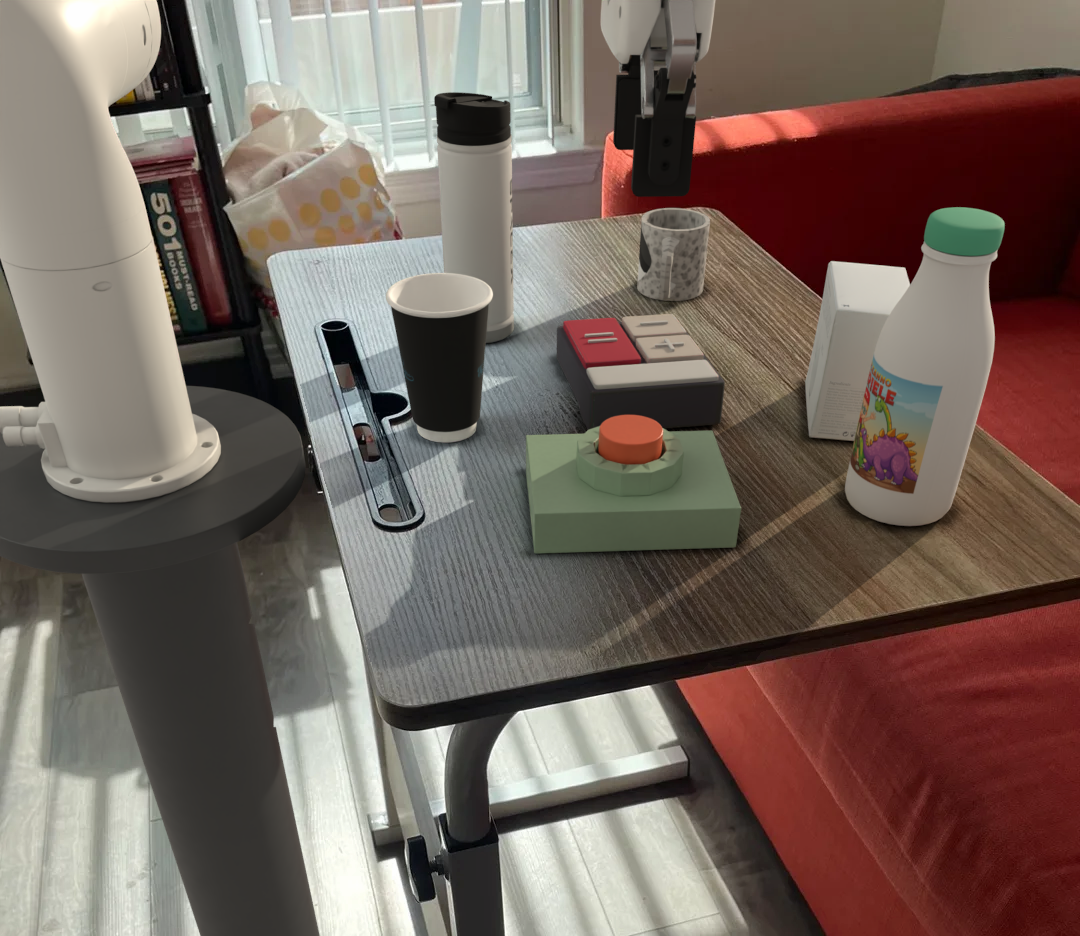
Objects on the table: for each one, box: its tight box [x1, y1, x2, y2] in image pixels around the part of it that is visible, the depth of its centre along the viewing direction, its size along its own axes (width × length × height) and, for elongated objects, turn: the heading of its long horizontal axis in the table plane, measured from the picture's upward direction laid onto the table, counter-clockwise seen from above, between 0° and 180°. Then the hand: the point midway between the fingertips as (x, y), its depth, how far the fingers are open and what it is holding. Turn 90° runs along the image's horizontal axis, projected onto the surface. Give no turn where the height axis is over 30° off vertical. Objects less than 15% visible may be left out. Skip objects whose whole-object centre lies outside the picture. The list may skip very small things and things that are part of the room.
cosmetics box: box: [804, 260, 911, 442], centre depth 88 cm, size 10×6×10 cm, turn 172°
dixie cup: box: [385, 272, 493, 443], centre depth 86 cm, size 8×8×11 cm
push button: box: [598, 415, 663, 465], centre depth 77 cm, size 4×4×2 cm
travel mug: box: [433, 91, 515, 344], centre depth 97 cm, size 6×7×20 cm
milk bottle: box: [844, 206, 1006, 527], centre depth 75 cm, size 8×8×20 cm
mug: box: [636, 207, 711, 302], centre depth 108 cm, size 10×7×7 cm
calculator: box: [556, 313, 726, 431], centre depth 93 cm, size 11×4×15 cm
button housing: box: [525, 426, 742, 555], centre depth 79 cm, size 14×11×5 cm
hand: (648, 169), depth 65 cm, fingers open, 8 cm apart
